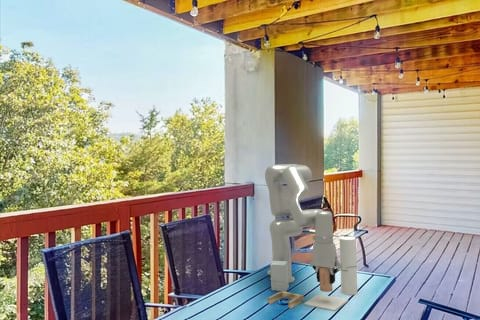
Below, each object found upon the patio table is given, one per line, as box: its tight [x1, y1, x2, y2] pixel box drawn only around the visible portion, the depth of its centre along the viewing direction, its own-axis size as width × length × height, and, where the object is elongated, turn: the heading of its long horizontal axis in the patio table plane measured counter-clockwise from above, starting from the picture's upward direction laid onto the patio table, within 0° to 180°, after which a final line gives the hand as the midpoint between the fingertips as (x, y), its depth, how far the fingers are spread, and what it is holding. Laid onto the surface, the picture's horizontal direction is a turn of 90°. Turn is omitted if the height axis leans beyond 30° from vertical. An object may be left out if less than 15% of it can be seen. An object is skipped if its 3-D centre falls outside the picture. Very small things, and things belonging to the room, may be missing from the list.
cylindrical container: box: [339, 236, 358, 296], centre depth 182 cm, size 7×7×25 cm
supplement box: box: [269, 260, 290, 292], centre depth 191 cm, size 7×7×13 cm
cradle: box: [267, 291, 304, 310], centre depth 172 cm, size 11×11×2 cm
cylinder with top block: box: [319, 267, 333, 293], centre depth 169 cm, size 5×6×10 cm
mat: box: [303, 293, 349, 312], centre depth 170 cm, size 14×14×1 cm
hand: (325, 281), depth 169 cm, fingers closed on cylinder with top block, 5 cm apart
